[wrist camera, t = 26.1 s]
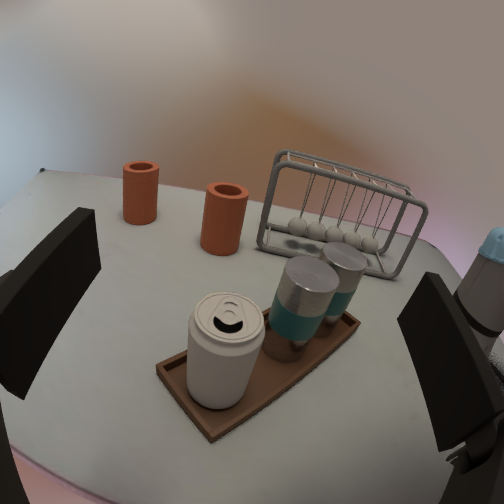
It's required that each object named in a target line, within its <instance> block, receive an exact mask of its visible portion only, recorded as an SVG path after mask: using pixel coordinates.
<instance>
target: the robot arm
mask: <svg viewBox="0 0 504 504" xmlns="http://www.w3.org/2000/svg"><path fill="white" fill-rule="evenodd" d="M478 251H479V253H478V255H477V256H476V258H475V260H474V262H473V263H472V265H471V267H470V269H469V270H468V272H467V274H466V275H465V277H464V278H463V280H462V282H461V283H460V285H459V286H458V288H457V290H456V291H455V293H454V294H453V296H452V294H451V293H450V291H449V290H448V288H447V286H446V285H445V283H444V282H443V280H442V279H441V277H440V276H439V274H435V273H430V272H425V274H424V276H423V277H422V279H421V281H420V283H419V284H418V286H417V288H416V289H415V291H414V293H413V294H412V296H411V298H410V299H409V301H408V303H407V304H406V306H405V307H404V309H403V310H402V312H401V314H400V315H399V317H398V318H397V321H398V323H399V326H400V328H401V331H402V334H403V336H404V339H405V342H406V344H407V347H408V350H409V353H410V355H411V358H412V361H413V364H414V367H415V370H416V373H417V376H418V379H419V382H420V385H421V388H422V391H423V395H424V398H425V401H426V405H427V408H428V412H429V415H430V419H431V423H432V427H433V430H434V434H435V438H436V443H437V447H438V451H439V452H442V451H445V450H449V449H452V448H454V447H456V446H457V445H459V444H460V443H462V442H463V441H465V443H466V445H465V446H463V447H462V448H460V449H458V450H457V451H455V452H454V453H452V454H450V455H449V456H448V457H447V459H446V461H447V462H448V461H449V460H451V459H453V458H455V457H456V456H458V457H457V458H456V459H454V460H452V461H451V462H450V463H451V464H452V465H454V468H453V471H452V474H451V476H450V479H449V481H448V484H447V486H446V489H445V491H444V493H443V495H442V498H441V500H440V502H439V504H504V394H503V391H502V389H501V387H500V384H499V382H498V380H497V378H495V376H496V375H497V376H498V377H499V379H500V380H501V381H502V382H503V383H504V376H503V375H502V374H501V373H500V371H499V370H498V369H497V368H496V367H495V366H494V365H493V364H492V363H491V362H490V361H489V360H488V356H489V354H490V352H491V350H492V348H493V345H494V343H495V341H496V339H497V337H498V336H499V335H500V334H501V332H502V331H503V330H504V228H502V227H496V228H494V229H492V230H491V231H490V232H489V234H488V236H487V238H486V239H485V241H484V243H483V245H482V246H481V247H480V248H479V250H478ZM100 270H101V262H100V256H99V248H98V240H97V232H96V222H95V211H94V210H93V209H87V208H81V207H78V208H77V209H76V210H75V211H73V212H72V213H71V214H70V215H69V216H68V217H67V218H66V219H64V220H63V221H62V222H61V223H60V224H59V225H58V226H57V227H56V228H55V229H54V230H53V231H52V232H50V233H49V234H48V235H47V236H46V237H45V238H44V239H43V240H42V241H41V242H40V243H39V244H38V245H37V246H36V247H35V248H34V249H33V250H32V251H31V252H30V253H29V254H28V255H27V256H26V258H25V259H24V260H23V261H22V262H21V263H20V264H19V265H18V266H17V267H16V268H15V269H14V270H10V271H8V272H7V273H5V274H4V275H2V276H1V277H0V383H1V384H2V385H3V387H4V388H5V389H6V390H7V391H8V392H10V393H12V394H13V395H15V396H17V397H18V398H20V399H22V400H24V399H25V397H26V394H27V392H28V390H29V388H30V386H31V384H32V382H33V380H34V378H35V376H36V374H37V372H38V370H39V369H40V367H41V365H42V363H43V361H44V359H45V357H46V356H47V354H48V352H49V350H50V348H51V347H52V345H53V343H54V341H55V340H56V338H57V336H58V335H59V333H60V331H61V330H62V328H63V326H64V325H65V323H66V321H67V320H68V318H69V316H70V315H71V313H72V312H73V310H74V308H75V307H76V305H77V304H78V302H79V301H80V299H81V298H82V296H83V295H84V293H85V292H86V290H87V289H88V287H89V286H90V284H91V283H92V281H93V280H94V278H95V277H96V275H97V274H98V273H99V271H100ZM495 374H496V375H495ZM0 504H30V503H29V501H28V498H27V496H26V493H25V491H24V488H23V485H22V483H21V480H20V477H19V474H18V471H17V468H16V465H15V462H14V458H13V455H12V452H11V448H10V444H9V440H8V436H7V432H6V428H5V423H4V418H3V413H2V408H1V402H0Z"/></svg>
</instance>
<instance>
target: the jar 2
mask: <svg viewBox="0 0 504 504" xmlns="http://www.w3.org/2000/svg"><path fill="white" fill-rule="evenodd" d="M248 195H249V192H248V191H247V189H245V188H244V187H242V186H240V185H237V184H234V183H228V182H216V183H211V184H209V185H208V187H207V190H206V198H205V205H204V213H203V222H202V230H201V239H200V241H201V242H200V244H201V247H202V248H203V249H204V250H205V251H207V252H208V253H211V254H214V255H219V256H227V255H231V254H233V253H235V252H236V251H237V249H238V245H239V240H240V235H241V230H242V225H243V220H244V215H245V210H246V205H247V200H248Z"/></svg>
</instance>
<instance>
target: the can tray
mask: <svg viewBox="0 0 504 504" xmlns="http://www.w3.org/2000/svg"><path fill="white" fill-rule="evenodd" d="M270 309H271V307H270V308H268V309H267V310H265V311H263V312H262V314H263V317H264V326H266V323H267V320H268V317H269V312H270ZM360 324H361V322H360V321H358V320H357V319H356V318H354V317H353V316H352V315H351V314H349V313H348V312H347V311H344V313H343V315H342V317H341V319H340V320H339V322H338V324H337V326H336V328H335V329H334V331H333V333H332V334H331V335H329V336H327V337H324V338H317V337H313V338H312V340H311V342H310V344H309V346H308V348H307V350H306V351H305V353H304V355H303V356H302V358H300V359H299V360H297V361H295V362H291V363H283V362H278V361H276V360H274V359H272V358H270V357H269V356H268V355H267V354H266V353H265V352H264V350H263V348H262V346H261V348H260V351H259V353H258V356H257V359H256V362H255V365H254V367H253V370H252V373H251V376H250V378H249V381H248V384H247V387H246V389H245V392H244V395H243V397H242V398H241V399H240V400H239V401H238V402H237V403H236V404H235V405H233V406H231V407H228V408H224V409H212V408H208V407H205V406H203V405H201V404H199V403H198V402H197V401H195V400H194V399H193V398H192V396H191V395H190V393H189V391H188V389H187V383H186V379H187V350H186V351H183V352H181V353H179V354H177V355H175V356H173V357H171V358H169V359H166V360H164V361H162V362H160V363H158V364H156V372H157V374H158V376H159V377H160V379H161V380H162V382H163V383H164V384H165V386H166V387H167V389H168V390H169V391H170V393H171V394H172V395H173V397H174V398H175V399H176V401H177V402H178V403H179V405H180V406H181V407H182V409H183V410H184V411H185V412H186V414H187V415H188V416H189V418H190V419H191V420H192V421H193V422H194V424H195V425H196V426H197V427H198V429H199V430H200V431H201V432H202V433H203V435H204V436H205V437H206V438H207V439H208V440H209V442H210V443H212V442H214V441H215V440H217V439H219V438H220V437H222V436H223V435H225V434H226V433H228V432H230V431H231V430H233V429H234V428H236V427H237V426H239V425H240V424H242V423H243V422H244V421H246V420H247V419H249V418H250V417H252V416H253V415H255V414H256V413H257V412H259V411H260V410H262V409H263V408H264V407H266V406H267V405H268V404H270V403H271V402H272V401H274V400H275V399H276V398H278V397H279V396H280V395H282V394H283V393H284V392H286V391H287V390H288V389H289V388H291V387H292V386H293V385H294V384H296V383H297V382H298V381H299V380H301V379H302V378H303V377H304V376H306V375H307V374H308V373H309V372H310V371H312V370H313V369H314V368H315V367H316V366H318V365H319V364H320V363H321V362H322V361H323V360H325V359H326V358H327V357H328V356H329V355H330V354H331V353H333V352H334V351H335V350H336V349H337V348H338V347H339V346H340V345H341V344H343V343H344V342H345V341H346V340H347V339H348V338H349V337H350V336H351V335H352V334H353V333H354V332H355V331H356V330H357V328H358V327H359V325H360Z"/></svg>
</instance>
